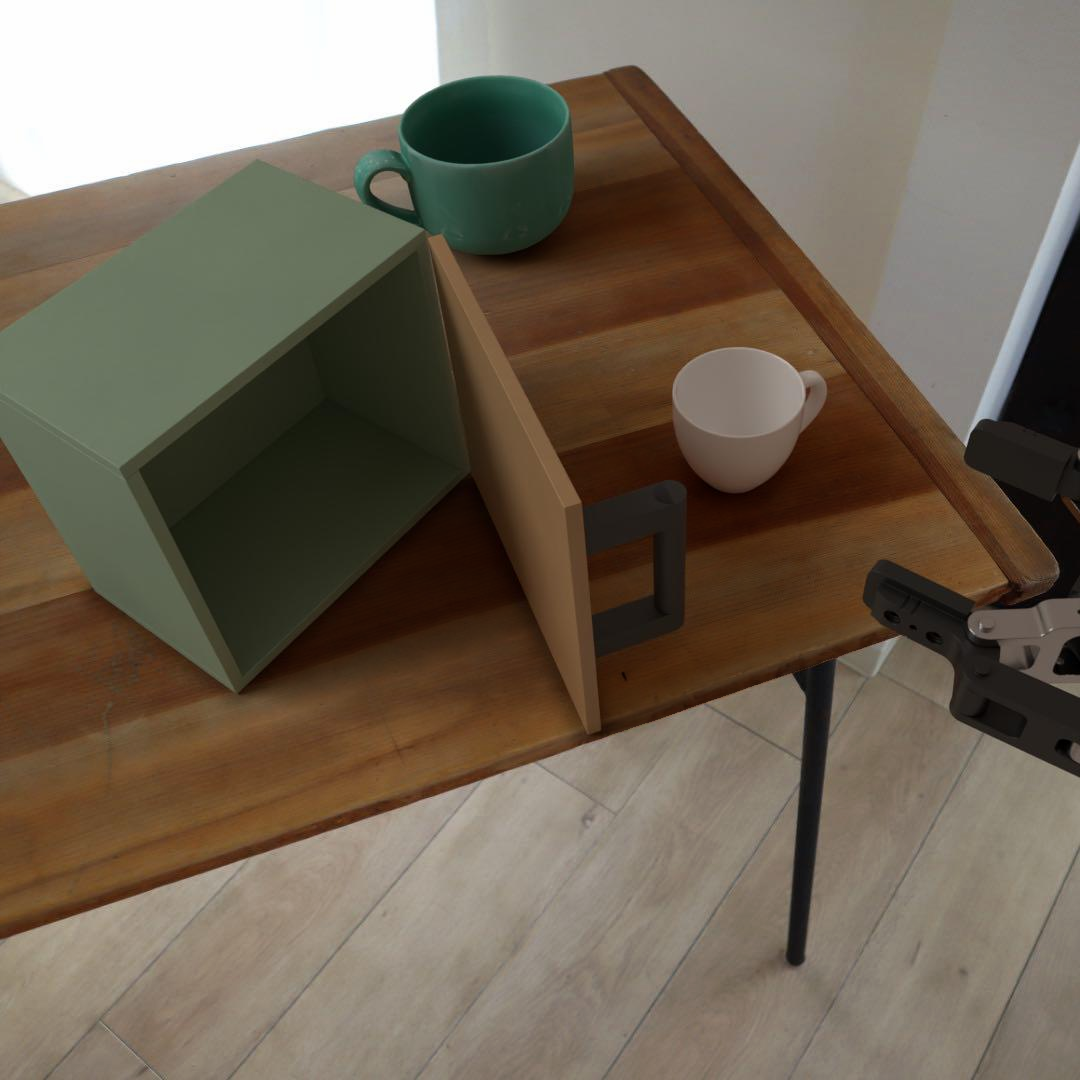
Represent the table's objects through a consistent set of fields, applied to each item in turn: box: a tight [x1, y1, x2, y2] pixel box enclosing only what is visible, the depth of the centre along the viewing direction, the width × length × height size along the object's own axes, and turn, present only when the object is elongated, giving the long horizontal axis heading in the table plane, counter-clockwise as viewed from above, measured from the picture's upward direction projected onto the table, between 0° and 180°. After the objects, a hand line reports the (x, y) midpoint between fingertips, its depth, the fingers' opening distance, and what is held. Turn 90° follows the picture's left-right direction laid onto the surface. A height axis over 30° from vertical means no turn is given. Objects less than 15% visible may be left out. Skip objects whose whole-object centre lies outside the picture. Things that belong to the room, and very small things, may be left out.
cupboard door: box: [427, 234, 688, 736], centre depth 63 cm, size 7×21×18 cm, turn 20°
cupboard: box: [0, 158, 471, 695], centre depth 67 cm, size 13×21×19 cm, turn 142°
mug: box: [353, 74, 575, 256], centre depth 89 cm, size 17×13×10 cm
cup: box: [671, 346, 828, 494], centre depth 72 cm, size 8×10×7 cm
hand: (922, 506), depth 45 cm, fingers open, 8 cm apart
